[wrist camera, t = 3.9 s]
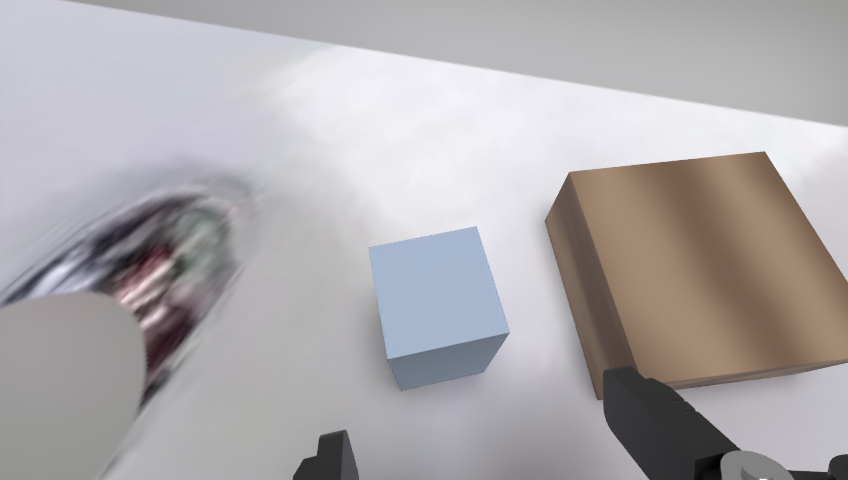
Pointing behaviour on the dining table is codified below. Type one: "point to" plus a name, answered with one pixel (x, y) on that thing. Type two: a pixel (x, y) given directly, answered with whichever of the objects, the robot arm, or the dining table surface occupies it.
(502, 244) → the dining table surface
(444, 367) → the slate blue pillar block
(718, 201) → the walnut block
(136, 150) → the dining table surface
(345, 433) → the robot arm
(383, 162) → the dining table surface
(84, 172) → the dining table surface
